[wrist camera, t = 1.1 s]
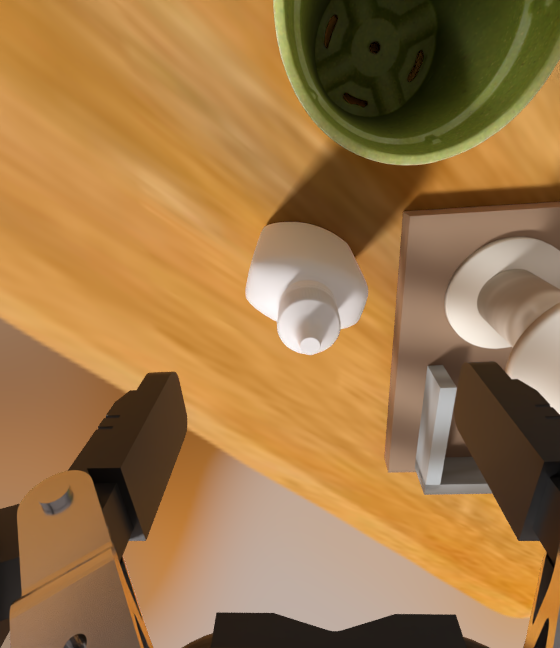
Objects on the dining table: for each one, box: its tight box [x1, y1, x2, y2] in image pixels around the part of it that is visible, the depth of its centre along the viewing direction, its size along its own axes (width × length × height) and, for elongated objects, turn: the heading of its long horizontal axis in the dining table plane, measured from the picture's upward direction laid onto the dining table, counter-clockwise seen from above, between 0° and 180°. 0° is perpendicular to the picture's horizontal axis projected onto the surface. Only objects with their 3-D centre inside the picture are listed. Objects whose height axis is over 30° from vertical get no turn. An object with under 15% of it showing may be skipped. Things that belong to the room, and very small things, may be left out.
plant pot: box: [273, 0, 560, 165], centre depth 15 cm, size 9×9×9 cm
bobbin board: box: [385, 201, 560, 495], centre depth 22 cm, size 20×12×10 cm, turn 4°
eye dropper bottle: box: [246, 222, 368, 355], centre depth 18 cm, size 4×6×12 cm
